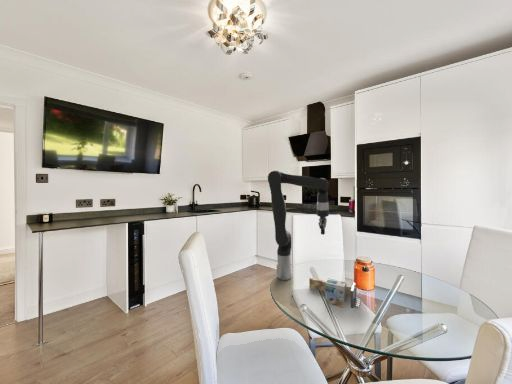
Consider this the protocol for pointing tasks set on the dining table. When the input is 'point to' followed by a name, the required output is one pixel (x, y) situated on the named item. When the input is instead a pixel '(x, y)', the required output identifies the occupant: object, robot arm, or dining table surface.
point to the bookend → (354, 301)
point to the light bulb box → (335, 290)
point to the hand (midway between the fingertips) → (322, 234)
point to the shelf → (322, 286)
